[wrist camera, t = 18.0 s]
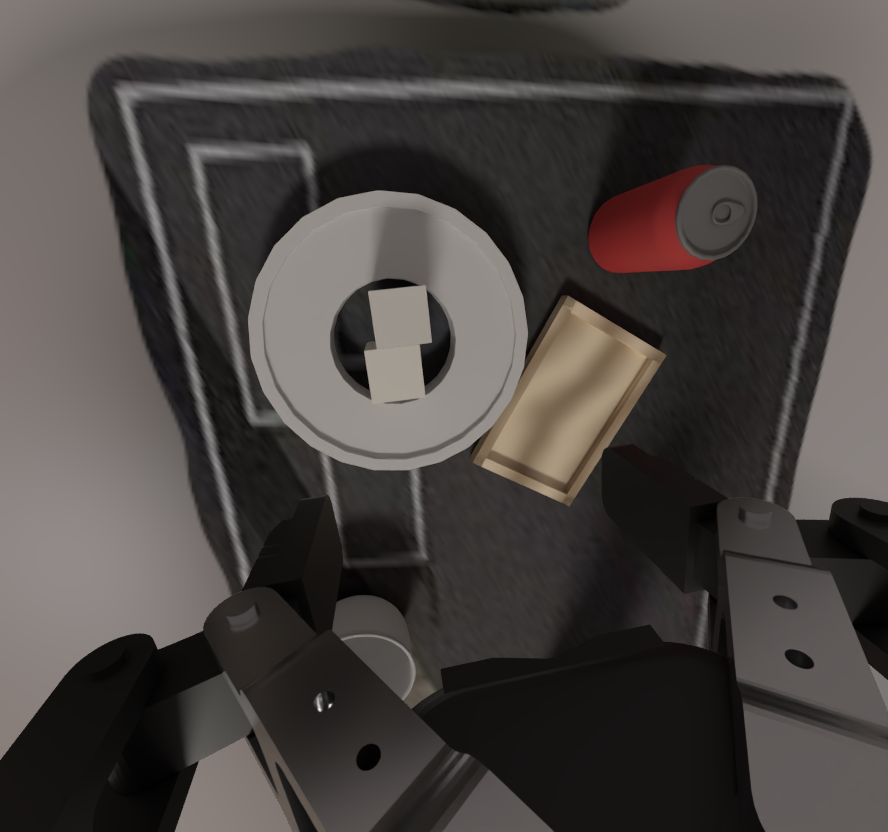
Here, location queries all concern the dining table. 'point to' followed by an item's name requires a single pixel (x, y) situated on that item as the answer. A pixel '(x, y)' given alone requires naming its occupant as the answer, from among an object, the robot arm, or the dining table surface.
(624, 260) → the beer can
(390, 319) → the stone block
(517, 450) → the tray
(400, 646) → the teacup
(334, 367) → the ashtray
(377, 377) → the stone block
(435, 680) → the dining table surface
